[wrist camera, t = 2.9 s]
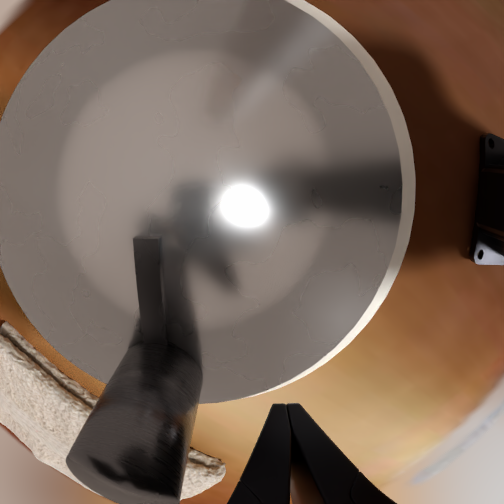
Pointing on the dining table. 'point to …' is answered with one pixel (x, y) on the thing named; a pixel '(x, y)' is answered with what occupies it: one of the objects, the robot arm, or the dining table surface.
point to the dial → (192, 215)
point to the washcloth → (63, 412)
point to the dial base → (406, 170)
